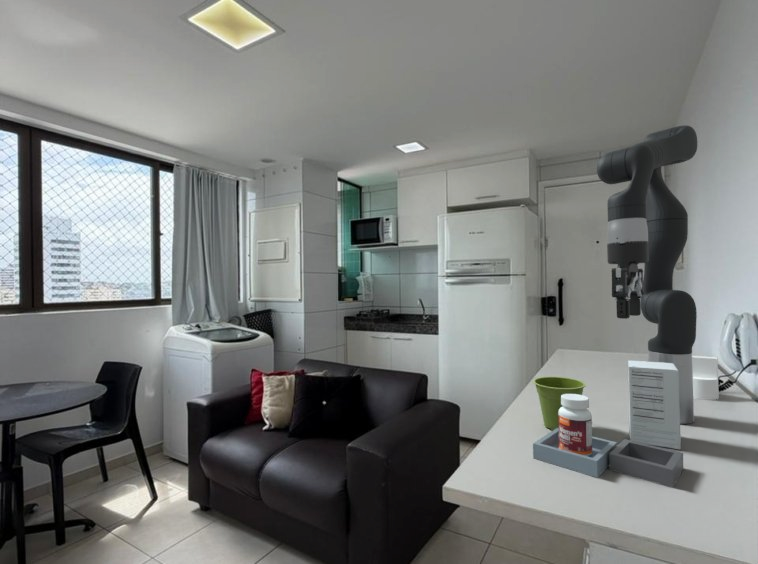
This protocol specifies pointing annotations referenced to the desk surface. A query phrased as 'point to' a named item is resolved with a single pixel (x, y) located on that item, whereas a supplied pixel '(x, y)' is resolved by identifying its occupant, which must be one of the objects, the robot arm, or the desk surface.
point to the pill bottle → (575, 424)
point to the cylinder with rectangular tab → (705, 378)
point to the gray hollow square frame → (647, 462)
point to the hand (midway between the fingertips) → (629, 316)
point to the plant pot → (555, 396)
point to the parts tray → (574, 454)
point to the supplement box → (654, 404)
